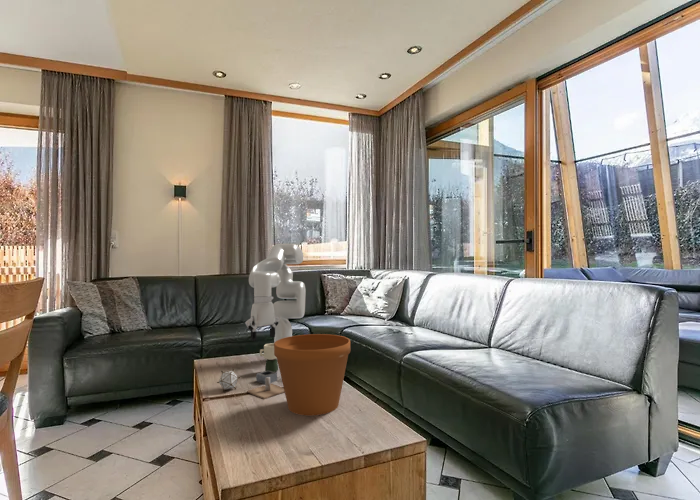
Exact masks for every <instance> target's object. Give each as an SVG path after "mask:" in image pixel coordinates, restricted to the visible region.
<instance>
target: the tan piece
mask: <svg viewBox="0 0 700 500" xmlns="http://www.w3.org/2000/svg"><path fill="white" fill-rule="evenodd" d="M246 393H248V394H250V395H253V396H256V397H258V398H261V399H263V400H266V399H270V398H273V397H275V396H279V395H282V394H285V391H284V387H282V386H280V385H279V386H278V385H277V384H274V383H270V377H266V378H265V384H264V385H261V386H259V387H255V388H252V389H250V390H249V389H248V390H247V391H246Z"/></svg>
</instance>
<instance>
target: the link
mask: <svg viewBox="0 0 700 500" xmlns="http://www.w3.org/2000/svg"><path fill="white" fill-rule="evenodd" d="M255 375H256V382H257V383H261V384H263V385H265V378H266V377H270V384H272V383H274V382H277V381H278V372H277V371H276V372H272V371H269V370H268V371H265V370H264V371H261V372H257V373H256V374H255Z"/></svg>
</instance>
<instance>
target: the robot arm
mask: <svg viewBox="0 0 700 500" xmlns="http://www.w3.org/2000/svg"><path fill="white" fill-rule="evenodd" d="M303 261H304V252H303V250H302V249H301V248H300V247H299V246H298V244H295V243H277V244H274V245H273V246H272V247H271V248H270V251H269V253H268V255H267V258H265V259H263V260H261V261H259V262H258V263H256V264H255V265H253V267H252V268H251V270H250V273H249V275H248V284H249V286H250V287H251V288H253V293H254V294H253V295H254V296H253V297H254V298H253V300H254V301H253V303H252V305H251V310H250V318H248V319H247V320H246V321H245V326H246V328H247V329H248V331H249V332H250V340H251V341H257V331H256V330H257V328H258V327H259V328H260V327H266V326H269V337H271V338H273V341H274V342H273V343H275V342H276V341H277V340H279V339H282V338H286V337H291V336H293V327H292V323H291V322H290V321H289V319H301V318H303V317H304V316H305V312H306V293H307V292H306V291H307V289H306V284H305V282H303V281H299V280H293V278H294V277H293V274H294V273H293V271H292V269H291V268H290V266H288V265H300V264H302V263H303ZM272 288H275V289H276V297H277V298H279V299H285V300H278V301H275V302H274V303H273V300H274V296H272ZM286 299H290V300H286ZM291 299H292V300H291ZM293 299H295V300H293ZM277 363H278V361H277Z"/></svg>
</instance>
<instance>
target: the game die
mask: <svg viewBox="0 0 700 500" xmlns="http://www.w3.org/2000/svg"><path fill="white" fill-rule="evenodd" d="M234 370H235V368H232V370H229V371H228V370H227V371H223V370H221V371H220V372H221V374H220V377H219V381H217V382H216V383H217V384H219V385H220V386H221V388H222V389H223V390H222V392H225V390H231V389H234V390H237V388H236V385H237V383H238V381H239V379H241V377H240V376H239V377H238V376H237V374H236V373H235V371H234Z"/></svg>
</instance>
